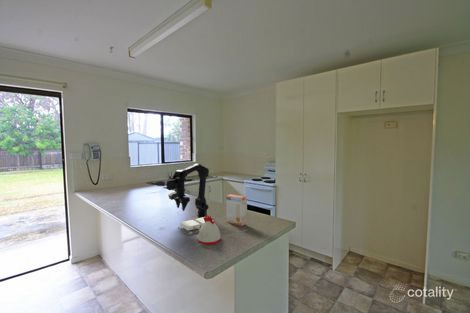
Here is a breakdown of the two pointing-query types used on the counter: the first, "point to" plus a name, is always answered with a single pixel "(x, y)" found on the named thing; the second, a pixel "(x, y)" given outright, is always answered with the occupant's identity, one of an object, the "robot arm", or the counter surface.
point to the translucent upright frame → (236, 209)
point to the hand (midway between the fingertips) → (180, 209)
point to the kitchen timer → (209, 232)
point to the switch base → (189, 230)
